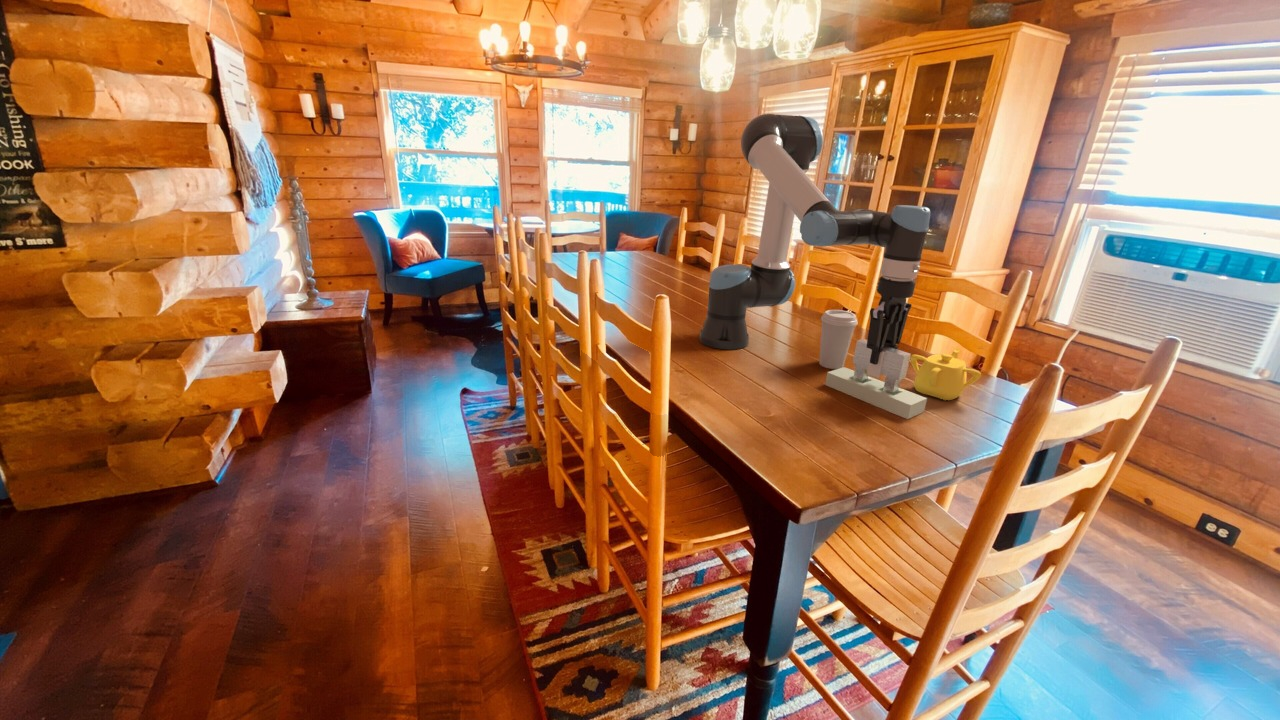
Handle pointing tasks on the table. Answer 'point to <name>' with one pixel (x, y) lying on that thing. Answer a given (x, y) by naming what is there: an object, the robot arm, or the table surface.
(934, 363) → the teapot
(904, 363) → the grey piece
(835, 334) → the coffee cup
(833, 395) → the table surface
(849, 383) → the rail
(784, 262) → the robot arm
